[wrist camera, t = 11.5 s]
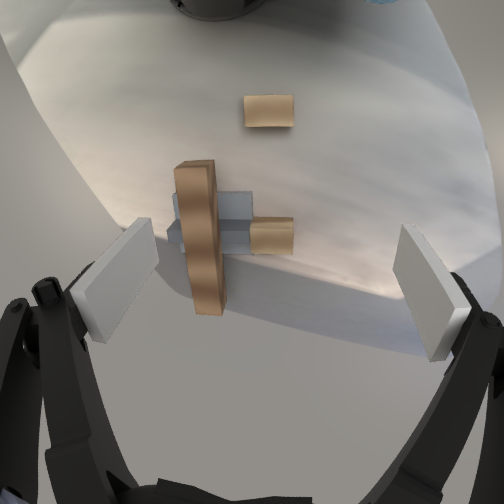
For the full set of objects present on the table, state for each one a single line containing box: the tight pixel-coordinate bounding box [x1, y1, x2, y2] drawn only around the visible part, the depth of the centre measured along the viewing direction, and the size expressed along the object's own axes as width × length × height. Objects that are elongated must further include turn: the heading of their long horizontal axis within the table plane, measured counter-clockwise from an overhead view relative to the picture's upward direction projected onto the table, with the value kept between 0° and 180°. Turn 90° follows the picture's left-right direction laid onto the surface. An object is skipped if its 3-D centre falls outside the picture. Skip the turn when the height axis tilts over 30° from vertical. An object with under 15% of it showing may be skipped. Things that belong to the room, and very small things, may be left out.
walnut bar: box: [174, 160, 227, 316], centre depth 41 cm, size 22×4×4 cm, turn 2°
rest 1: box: [244, 95, 294, 127], centre depth 36 cm, size 4×6×4 cm, turn 92°
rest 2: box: [250, 217, 293, 254], centre depth 45 cm, size 4×6×4 cm, turn 92°
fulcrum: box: [167, 192, 254, 255], centre depth 45 cm, size 10×12×5 cm
